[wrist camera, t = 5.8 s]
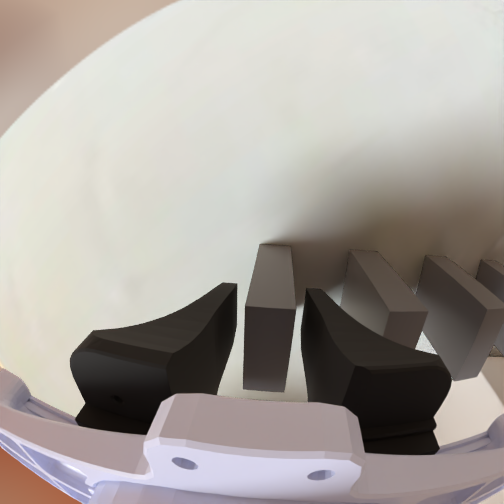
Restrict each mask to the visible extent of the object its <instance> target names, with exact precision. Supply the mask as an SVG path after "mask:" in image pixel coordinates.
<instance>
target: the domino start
mask: <svg viewBox="0 0 504 504" xmlns="http://www.w3.org/2000/svg"><path fill="white" fill-rule="evenodd" d="M295 315H296V301H295V289H294V277H293V266H292V255H291V246H281V245H266V244H260V245H259V249H258V254H257V258H256V262H255V266H254V271H253V275H252V279H251V283H250V287H249V292H248V296H247V300H246V304H245V327H244V364H243V389H246V390H257V391H270V392H284V390H285V384H286V378H287V371H288V365H289V358H290V351H291V344H292V337H293V330H294V322H295Z"/></svg>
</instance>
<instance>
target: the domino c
mask: <svg viewBox="0 0 504 504" xmlns="http://www.w3.org/2000/svg"><path fill="white" fill-rule="evenodd" d="M416 296H417V298H418V299H419V300H420V301H421V303H422V304H423V305H424V306H425V307H426V309H427V310H428V311H429V312H428V315H427V318H426V321H425V323H424V326H423V329H422V331H423V333H424V334H425V336H426V337H427V339H428V340H429V342H430V343H431V345H432V346H433V348H434V350H435V351H436V353H437V354H438V355H439V356H440V357H441V359H442V361H443V362H444V364H445V365H446V367H447V369H448V370H449V372H450V374H451V377H452V379H453V380H454V382H455V381H460V380H465V379H470V378H475V377H477V376H478V374H479V372H480V371H481V369H482V367H483V365H484V363H485V361H486V359H487V357H488V355H489V353H490V351H491V349H492V347H493V345H494V343H495V341H496V339H497V336H498V334H499V332H500V330H501V327H502V325H503V323H504V303H503V302H502V301H501V300H500V299H499V298H497V297H496V296H495V295H494V294H493V293H492V292H490V291H489V290H488V289H487V288H486V287H484V286H483V285H482V284H481V283H480V282H478V281H477V280H476V279H475V278H473V277H472V276H471V275H470V274H468V273H467V272H466V271H464V270H463V269H462V268H461V267H459V266H458V265H457V264H455V263H454V262H453V261H451V260H450V259H449V258H447V257H443V256H431V255H426V256H425V260H424V265H423V269H422V273H421V277H420V281H419V285H418V289H417V292H416Z"/></svg>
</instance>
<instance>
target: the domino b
mask: <svg viewBox="0 0 504 504" xmlns="http://www.w3.org/2000/svg"><path fill="white" fill-rule="evenodd" d="M340 307H341V308H342V309H343V310H344V311H345V312H346V313H348V314H349V315H350V316H351V317H353V318H354V319H355V320H356V321H358V322H359V323H361V324H362V325H364V326H365V327H367V328H368V329H370V330H372V331H373V332H375V333H377V334H379V335H381V336H383V337H385V338H387V339H389V340H391V341H393V342H396V343H398V344H401V345H404V346H406V347H409V348H412V349H415V348H416V345H417V343H418V340H419V337H420V335H421V332H422V329H423V326H424V323H425V321H426V318H427V315H428V312H429V311H428V310H427V309H426V307H425V306H424V305H423V304H422V303H421V301H420V300H419V299H418V298H417V296H416V295H415V294H414V293H413V292H412V290H411V289H410V288H409V287H408V286H407V285H406V283H405V282H404V281H403V280H402V279H401V278H400V276H399V275H398V274H397V273H396V272H395V271H394V270H393V268H392V267H391V266H390V265H389V264H388V263H387V262H386V261H385V259H384V258H383V257H382V256H381V255H380V254H379V253H378V252H377V251H364V250H350V252H349V258H348V265H347V271H346V277H345V283H344V288H343V294H342V299H341V304H340Z"/></svg>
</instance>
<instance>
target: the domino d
mask: <svg viewBox="0 0 504 504" xmlns="http://www.w3.org/2000/svg"><path fill="white" fill-rule="evenodd" d="M476 280H477V281H478V282H480V283H481V284H482V285H483V286H484V287H486V288H487V289H488V290H489V291H490V292H492V293H493V294H494V295H495V296H496V297H497V298H499V299H500V300H501V301H502V302H503V303H504V266H503V265H501V264H500V263H498V262H497V261H492V260H481V262H480V266H479V270H478V273H477V277H476ZM494 345H495V346H496V347H497V349H498V350H499V351H500V352H501V353H502V355H503V356H504V323H503V325H502V327H501V330H500V332H499V334H498V336H497V339H496V341H495V343H494Z"/></svg>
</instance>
